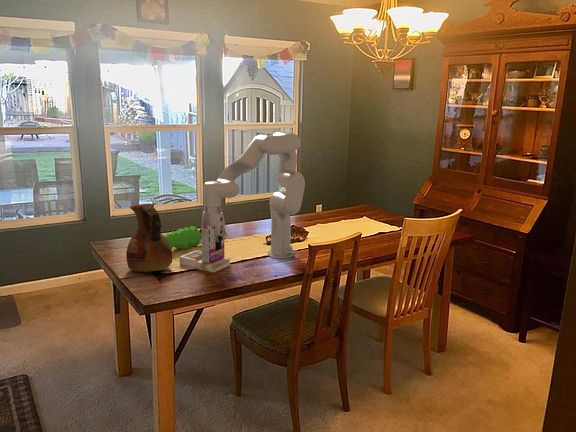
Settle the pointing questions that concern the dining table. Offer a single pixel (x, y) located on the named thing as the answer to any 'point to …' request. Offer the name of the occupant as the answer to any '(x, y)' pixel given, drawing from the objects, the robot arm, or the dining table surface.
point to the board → (213, 265)
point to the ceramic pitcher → (148, 242)
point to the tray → (189, 259)
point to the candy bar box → (210, 245)
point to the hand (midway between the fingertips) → (213, 248)
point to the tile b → (195, 257)
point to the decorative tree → (184, 238)
